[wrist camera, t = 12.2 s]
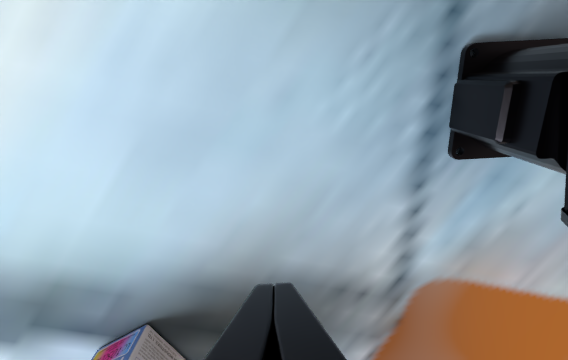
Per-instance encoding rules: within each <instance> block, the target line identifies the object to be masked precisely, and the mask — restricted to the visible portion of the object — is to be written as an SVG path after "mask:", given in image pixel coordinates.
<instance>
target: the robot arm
mask: <svg viewBox="0 0 568 360" xmlns="http://www.w3.org/2000/svg"><path fill="white" fill-rule="evenodd" d="M472 49H473V50H474V56H473V57H472V58H471V57H470V51H471V50H472ZM449 127H450V128H451V132H450V139H449V146H448V154H449V156H450V157H452V158H454V159H458V160H461V159H478V158H496V157H515V158H518V159H521V160H524V161H527V162H530V163H533V164H536V165H539V166H542V167H545V168H548V169H551V170H554V171H557V172H560V173H563V174H566V187H565V206H564V207H563V208H562V209H561V220H562V221H563V222H564V224H565V225H566V226H567V227H568V38H564V39H544V40H524V41H505V42H485V43H473V44H468V45H466V46H465V47H464V48H463V50H462V52H461V57H460V64H459V72H458V79H457V83H456V84H455V86H454V94H453V101H452V109H451V116H450V124H449ZM458 148H460V151H459V153H458V154H456V150H457V149H458ZM204 360H346V358H345V357H344V355H343V354H342V353H341V351H340V350H339V348H338V347H337V346H336V344H335V343H334V342H333V340H332V339H331V337H330V336H329V335H328V333H327V332H326V330H325V329H324V328H323V326H322V325H321V323H320V322H319V321H318V319H317V318H316V316H315V315H314V314H313V312H312V311H311V309H310V308H309V307H308V305H307V304H306V302H305V301H304V300H303V298H302V297H301V295H300V294H299V293H298V291H297V290H296V288H295V287H294V286H293V284H292V283H276V284H275V285H273V284H259V285H256V286H255V288H254V289H253V290H252V292H251V293H250V295H249V296H248V298H247V299H246V300H245V302H244V303H243V305H242V306H241V307H240V309H239V310H238V312H237V313H236V315H235V316H234V317H233V319H232V320H231V322H230V323H229V325H228V326H227V327H226V329H225V330H224V332H223V333H222V334H221V336H220V337H219V339H218V340H217V342H216V343H215V344H214V346H213V347H212V349H211V350H210V352H209V353H208V354H207V356H206V357H205V359H204Z"/></svg>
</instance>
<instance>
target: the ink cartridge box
mask: <svg viewBox="0 0 568 360" xmlns="http://www.w3.org/2000/svg"><path fill="white" fill-rule="evenodd" d="M92 360H185V359H184V358H183V357H182V356H181V355H180V354H179V353H178V352H177V351H176V350H175V349H174V348H173V347H172V346H171V345H170V344H168V343H167V342H166V341H165V340H164V339H163V338H162V337H161V336H160V335H159V334H158V333H156V332H155V331H154V330H153V329H152V328H151V327H150V326H149V325H144V326H143V327H141V328H139V329H137V330H135V331H133V332H131V333H129V334H127V335H125V336H123V337H122V338H120V339H118V340H115V341H114V342H112V343H110V344H108V345H106V346H104V347H102V348H100V349H99V350H97V352H96V353H95V355H94V356H93V358H92Z"/></svg>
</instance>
